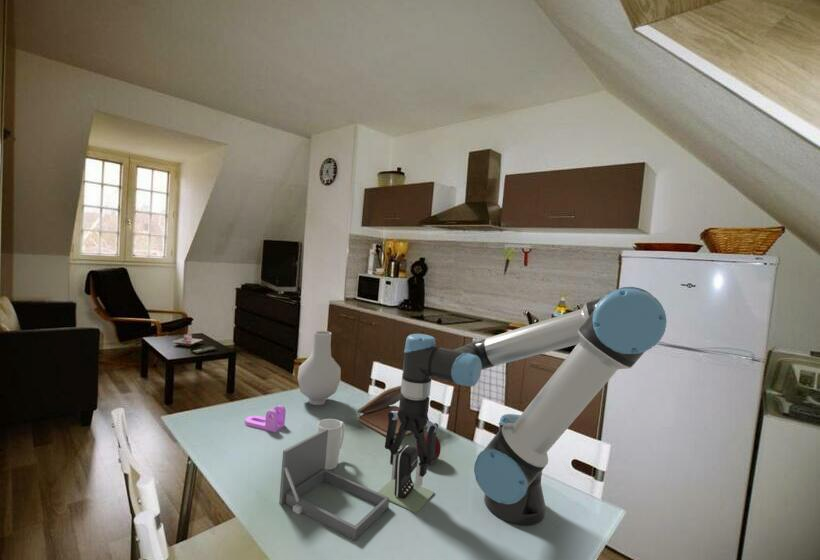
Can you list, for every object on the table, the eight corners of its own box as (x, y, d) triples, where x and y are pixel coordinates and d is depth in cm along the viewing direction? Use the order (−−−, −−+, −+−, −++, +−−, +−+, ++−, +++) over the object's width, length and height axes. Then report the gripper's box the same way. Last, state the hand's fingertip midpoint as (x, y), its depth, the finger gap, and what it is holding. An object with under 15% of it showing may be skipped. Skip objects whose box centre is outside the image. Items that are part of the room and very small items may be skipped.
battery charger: (407, 501, 99) (409, 457, 98) (393, 497, 101) (395, 453, 100) (417, 487, 105) (420, 445, 105) (404, 483, 107) (407, 442, 106)
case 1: (390, 505, 98) (394, 455, 97) (352, 543, 84) (357, 484, 83) (322, 474, 108) (325, 428, 107) (278, 503, 95) (282, 450, 94)
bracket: (284, 426, 135) (286, 406, 134) (274, 432, 130) (276, 412, 129) (252, 418, 138) (253, 398, 138) (241, 424, 133) (242, 404, 133)
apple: (444, 461, 121) (447, 436, 121) (428, 469, 116) (430, 443, 115) (426, 451, 126) (428, 427, 126) (409, 459, 121) (412, 433, 120)
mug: (327, 473, 109) (330, 431, 108) (309, 465, 112) (312, 424, 111) (350, 459, 117) (354, 420, 117) (333, 451, 121) (336, 413, 120)
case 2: (393, 407, 160) (397, 368, 159) (432, 426, 146) (436, 384, 145) (353, 419, 146) (356, 377, 144) (392, 442, 131) (396, 395, 130)
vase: (288, 406, 151) (293, 333, 149) (306, 391, 167) (311, 326, 165) (329, 413, 148) (335, 339, 146) (344, 398, 164) (349, 331, 163)
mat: (434, 493, 104) (434, 491, 104) (416, 513, 96) (416, 512, 96) (395, 477, 110) (395, 476, 110) (375, 495, 101) (375, 493, 101)
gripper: (455, 400, 100) (446, 488, 101) (390, 382, 109) (383, 463, 111) (443, 409, 93) (433, 503, 95) (375, 389, 102) (367, 475, 104)
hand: (406, 481), depth 103 cm, fingers open, 6 cm apart
